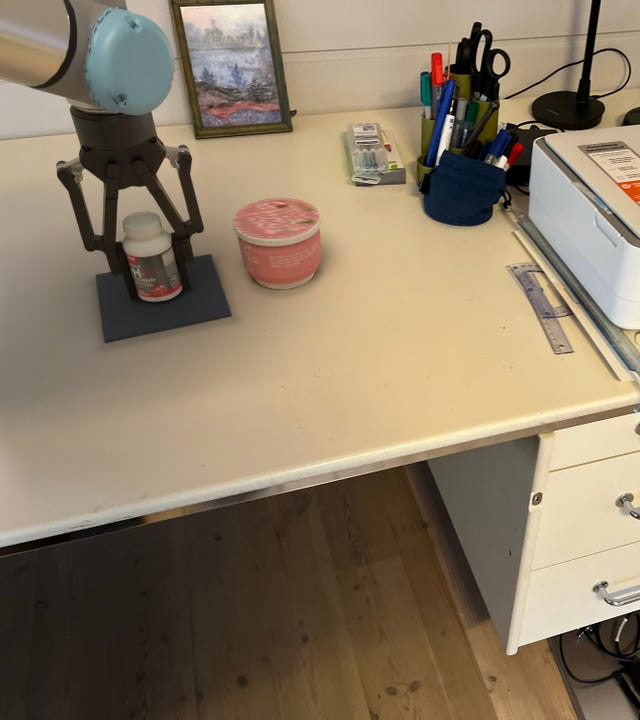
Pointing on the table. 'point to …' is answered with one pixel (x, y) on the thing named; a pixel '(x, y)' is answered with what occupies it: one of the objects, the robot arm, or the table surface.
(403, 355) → the table surface
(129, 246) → the pill bottle
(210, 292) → the mat
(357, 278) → the table surface
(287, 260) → the container
